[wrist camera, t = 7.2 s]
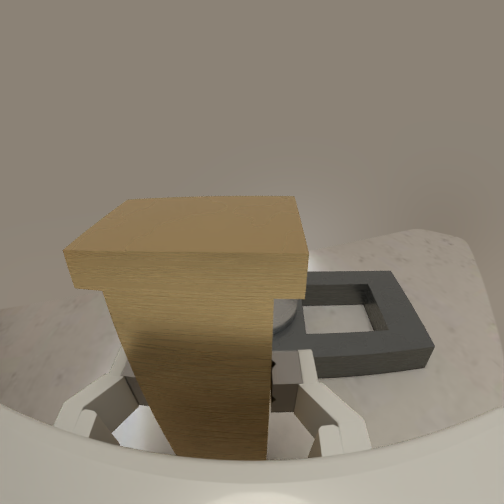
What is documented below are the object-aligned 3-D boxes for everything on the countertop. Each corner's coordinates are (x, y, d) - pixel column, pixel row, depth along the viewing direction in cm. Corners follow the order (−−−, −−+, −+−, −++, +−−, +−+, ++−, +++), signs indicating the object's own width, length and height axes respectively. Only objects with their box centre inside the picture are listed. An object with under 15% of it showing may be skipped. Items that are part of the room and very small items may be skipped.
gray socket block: (183, 374, 21) (175, 345, 20) (209, 290, 32) (206, 264, 31) (424, 367, 20) (438, 339, 19) (386, 289, 31) (392, 264, 29)
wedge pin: (179, 480, 12) (62, 250, 6) (190, 430, 15) (127, 199, 9) (275, 489, 12) (308, 253, 5) (276, 436, 15) (294, 196, 8)
